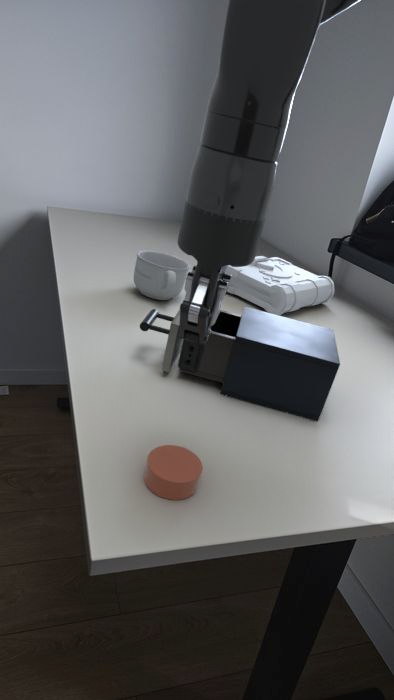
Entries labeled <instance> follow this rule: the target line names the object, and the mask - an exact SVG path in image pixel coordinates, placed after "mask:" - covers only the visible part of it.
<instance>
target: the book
mask: <svg viewBox="0 0 394 700" xmlns="http://www.w3.org/2000/svg"><path fill="white" fill-rule="evenodd" d="M225 274H228V275H232V278H231V282H230V286H229V288H228V290H227V292H226V293H229V294H231V295H236V296H238V297H240V298H242V299H244V300H246V301H248V302H250V303H252V304H254V305H256V306H258V307H261V308H263V309H264V311H265V312H267V313H271V314H275V315H278V316H282V315H283V314H285V313H286V314H287V313H290V312H294V311H298V310H300V308H307V307H313V306H316V305H320V304H324V303H328V302H329V301H330V300H331V299H333V297H334V295H335V290H336V289H335V283H334V281H333V279H332V278H331V277H330V276H327V275H318V274H315V273H313V272H310V271H308V270H305V269H303V268H301V267H299V266H296V265H294V264H292V262H290V261H288V260H285V259H284V258H281V257H278V256H273V257H266V256H264V255H259V256H255V259H254V261H253V262H252V263H251V264H250V265H247V266H243V267H232V266H230V265H227V269H226V272H225Z"/></svg>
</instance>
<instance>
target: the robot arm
mask: <svg viewBox="0 0 394 700" xmlns="http://www.w3.org/2000/svg"><path fill="white" fill-rule="evenodd" d="M360 1H361V0H228V1H227V9H226V14H225V20H224V28H223V33H222V34H223V35H222V40H221V47H220V53H219V60H218V67H217V73H216V76H215V78H214V79H215V80H214V82H213V84H212V88H211V90H210V94H209V97H208V100H207V101H208V102H207V105H206V111H205V115H204V120H203V125H202V130H201V136H200V139H199V140H200V141H199V145H198V149H197V153H196V156H195V159H194V162H193V165H192V167H191V172H190V176H189V181H188V187H187V191H186V196H185V202H184V206H183V212H182V217H181V222H180V227H179V232H178V237H177V246H178V248H179V249H180V251H182V253H184V254H186V255H187V256H191V257H192V258H194V259H195V260H196V265H195V264H194V265H193V267H192V269H191V271H188V272H187V276H186V280H185V283H184V286H183V289H184V292H185V296H184V299H183V300H182V303H180V305H179V310H180V309H181V310H180V332H179V334H180V338H181V339H183V344H182V348H181V350H180V352H179V358H178V362H177V368H178V370H179V369H180V370H183V371H187V372H190V373H196V372H197V371H198V369H199V367H200V365H201V361H202V357H203V353H204V349H205V344H206V341H208V338H209V334H211V331H212V330H211V327H212V326H213V325H214V324H215V322H216V319H217V317H218V315H219V313H220V311H221V310H222V307H223V302H224V299H225V297H226V295H227V294H226V293H228V292H227V290H228V288H229V286H230V282H231V278H232V275H228V274H226V273H225V272H226V269H227V265H230V266H232V267H243V266H247V265H250V264H251V263H252V262H253V261H254V259H255V257H257V256H256V255H257V251H258V248H259V245H260V240H261V237H262V233H263V229H264V226H265V222H266V218H267V215H268V211H269V207H270V204H271V200H272V196H273V192H274V189H275V180H276V172H277V167H278V162H279V158H280V154H281V151H282V147H283V144H284V140H285V137H286V133H287V129H288V125H289V120H290V115H291V110H292V107H293V101H294V97H295V94H296V90H297V88H298V85H299V83H300V81H301V79H302V75H303V73H304V70H305V67H306V66H307V65H306V64H307V63H308V59H309V56H310V53H311V51H312V48H313V46H314V42H315V40H316V36H317V33H318V30H319V28H320V26H321V25H323V24H324V23H326V22H328V21H329V20H331V19H332V18H334V17H335V16H337V15H339V14H341V13H342V12H344V11H346V10H348V9H349V8H350V7H352V6H354V5H356V4H357V3H359V2H360Z"/></svg>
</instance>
